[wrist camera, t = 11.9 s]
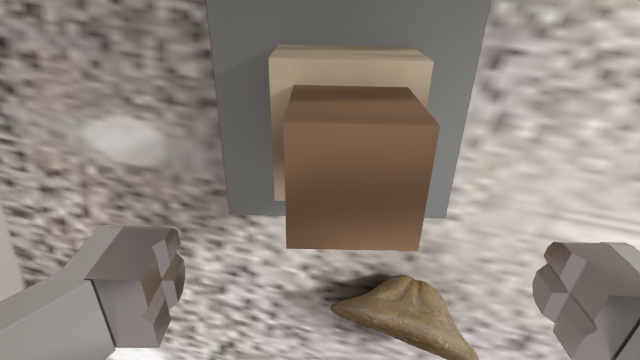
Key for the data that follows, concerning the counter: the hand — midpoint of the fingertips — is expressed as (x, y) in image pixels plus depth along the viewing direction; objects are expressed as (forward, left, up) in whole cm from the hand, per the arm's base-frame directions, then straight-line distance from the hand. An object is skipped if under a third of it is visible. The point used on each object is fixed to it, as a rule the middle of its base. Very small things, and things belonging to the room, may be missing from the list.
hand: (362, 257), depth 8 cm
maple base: (+1, 0, -14) cm, 14 cm away
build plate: (+1, 0, -15) cm, 15 cm away
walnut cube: (+1, 0, -10) cm, 10 cm away
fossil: (+16, +5, -15) cm, 22 cm away
